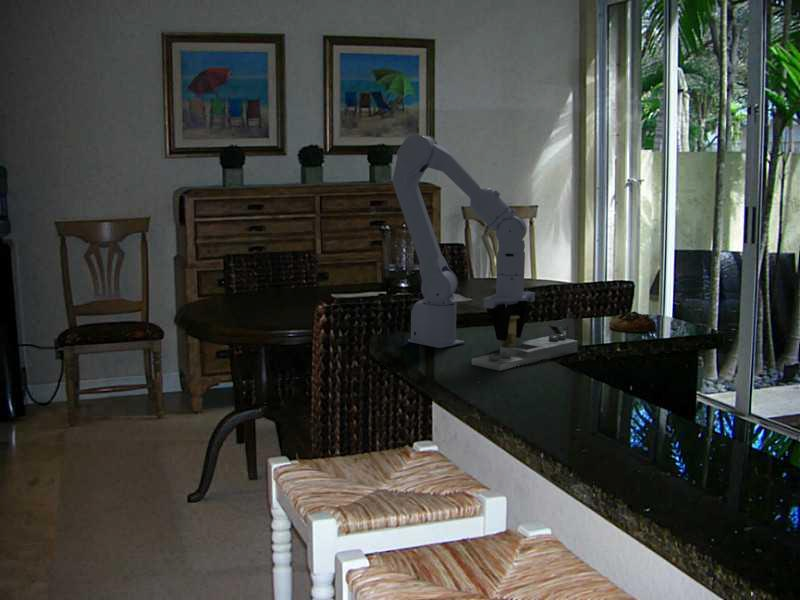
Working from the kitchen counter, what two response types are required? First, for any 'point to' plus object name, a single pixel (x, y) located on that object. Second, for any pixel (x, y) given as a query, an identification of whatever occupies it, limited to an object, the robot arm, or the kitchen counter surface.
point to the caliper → (565, 325)
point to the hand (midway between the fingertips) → (508, 338)
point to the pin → (511, 330)
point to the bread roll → (632, 323)
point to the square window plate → (505, 360)
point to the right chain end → (543, 347)
